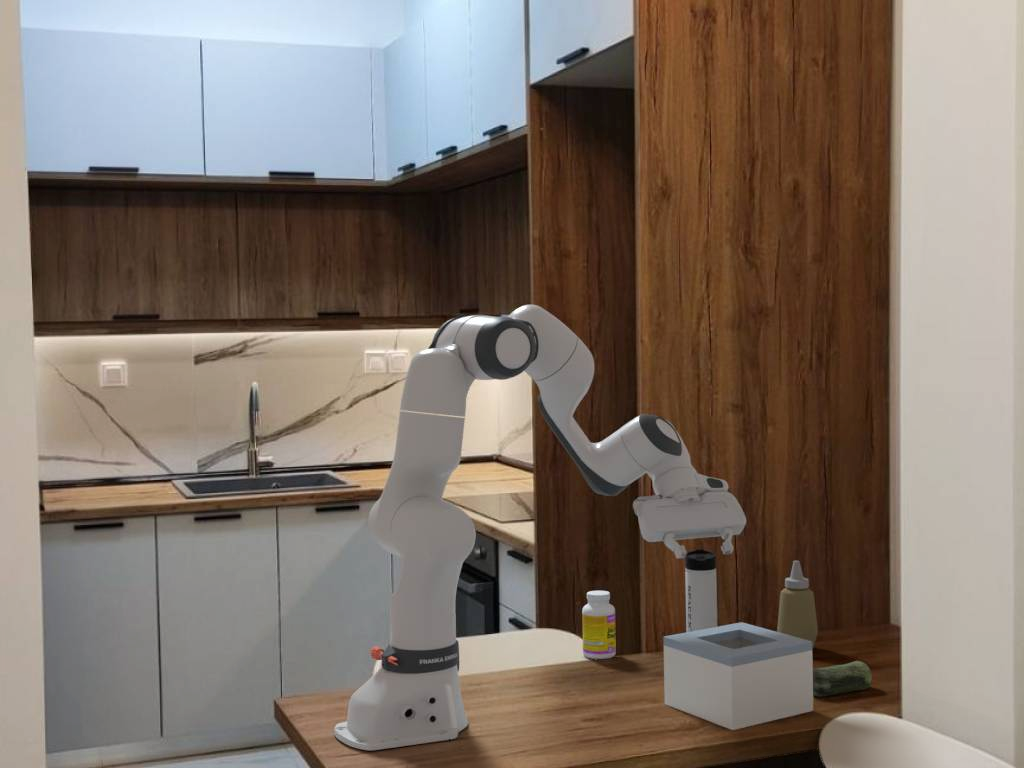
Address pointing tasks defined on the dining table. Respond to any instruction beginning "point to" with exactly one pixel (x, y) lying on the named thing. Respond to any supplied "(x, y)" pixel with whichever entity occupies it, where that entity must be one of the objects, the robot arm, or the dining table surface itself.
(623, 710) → the dining table surface
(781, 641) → the toy box
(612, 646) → the supplement bottle
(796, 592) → the squeeze bottle
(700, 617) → the travel mug
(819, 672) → the vegetable
